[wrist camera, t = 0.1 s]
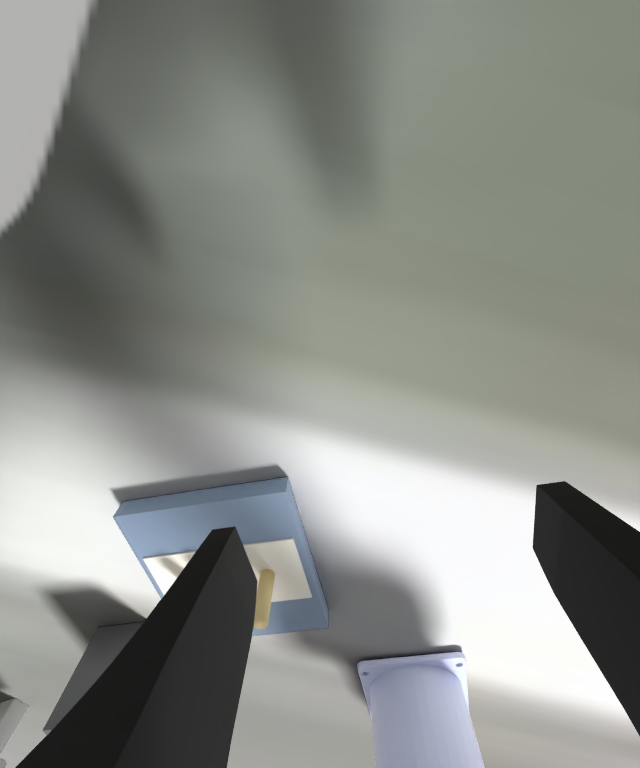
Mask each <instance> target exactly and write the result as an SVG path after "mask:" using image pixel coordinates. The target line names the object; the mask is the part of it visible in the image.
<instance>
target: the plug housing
mask: <svg viewBox="0 0 640 768" xmlns="http://www.w3.org/2000/svg"><path fill="white" fill-rule="evenodd" d="M143 623H144V622H139V623H130V624H121V625H112V626H104V627H98V628H97V630H96V632H95V634H94V636H93V638H92V639H91V641H90V643H89V645H88V647H87V649H86V651H85V653H84V654H83V656H82V658H81V660H80V662H79V664H78V666H77V667H76V669H75V671H74V673H73V675H72V677H71V679H70V680H69V682H68V684H67V686H66V688H65V690H64V692H63V693H62V695H61V697H60V699H59V701H58V703H57V705H56V707H55V708H54V710H53V712H52V714H51V716H50V718H49V720H48V721H47V723H46V725H45V727H44V729H43V731H44V732H45V733H46V734H47V735H48V734H49V733H50V732H51V731H52V729H53V728H54V727H55V726H56V725H57V724H58V723H59V722H60V721H61V720H62V719H63V718H64V716H65V715H66V714H67V713H68V712H69V711H70V710H71V709H72V708H73V706H74V705H75V704H76V703H77V702H78V701H79V700H80V699H81V698H82V696H83V695H84V694H85V693H86V692H87V691H88V690H89V689H90V687H91V686H92V685H93V684H94V683H95V682H96V681H97V679H98V678H99V677H100V676H101V675H102V673H103V672H104V671H105V670H106V669H107V668H108V666H109V665H110V664H111V663H112V662H113V660H114V659H115V658H116V657H117V655H118V654H119V653H120V652H121V650H122V649H123V648H124V647H125V645H126V644H127V643H128V642H129V640H130V639H131V638H132V637H133V635H134V634H135V633H136V632H137V630H138V629H139V628H140V627H141V625H142V624H143Z"/></svg>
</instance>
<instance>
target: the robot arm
mask: <svg viewBox="0 0 640 768" xmlns="http://www.w3.org/2000/svg"><path fill="white" fill-rule="evenodd" d="M533 549H534V552H535V554H536V556H537V558H538V560H539V562H540V565H541V567H542V569H543V571H544V573H545V575H546V578H547V580H548V582H549V584H550V586H551V588H552V590H553V592H554V594H555V596H556V597H557V599H558V601H559V602H560V604H561V606H562V607H563V609H564V611H565V612H566V614H567V616H568V617H569V619H570V621H571V622H572V624H573V626H574V627H575V629H576V631H577V632H578V634H579V636H580V637H581V639H582V641H583V642H584V644H585V645H586V647H587V649H588V650H589V652H590V654H591V655H592V657H593V659H594V660H595V662H596V663H597V665H598V667H599V668H600V670H601V672H602V673H603V675H604V677H605V678H606V680H607V681H608V683H609V685H610V686H611V688H612V690H613V691H614V693H615V695H616V696H617V698H618V699H619V701H620V703H621V704H622V706H623V708H624V709H625V711H626V713H627V715H628V716H629V718H630V720H631V722H632V723H633V725H634V727H635V729H636V730H637V732H638V734H639V736H640V532H639V531H637V530H636V529H634V528H633V527H631V526H630V525H628V524H627V523H626V522H624V521H623V520H621V519H620V518H618V517H617V516H615V515H614V514H612V513H611V512H609V511H608V510H606V509H605V508H603V507H602V506H600V505H599V504H598V503H596V502H595V501H593V500H592V499H590V498H589V497H587V496H586V495H584V494H583V493H581V492H580V491H578V490H577V489H576V488H574V487H573V486H571V485H570V484H568V483H567V482H565V481H563V482H556V483H549V484H541V485H537V489H536V505H535V521H534V537H533ZM257 582H258V581H257V578H256V576H255V573H254V571H253V569H252V566H251V564H250V561H249V559H248V556H247V554H246V551H245V549H244V546H243V544H242V541H241V539H240V537H239V534H238V532H237V529H236V527H235V526H234V527H227V528H220V529H212V530H211V532H210V533H209V535H208V536H207V537H206V539H205V540H204V541H203V543H202V544H201V545H200V547H199V548H198V549H197V551H196V552H195V554H194V555H193V556H192V558H191V559H190V561H189V562H188V563H187V565H186V566H185V568H184V569H183V570H182V572H181V573H180V574H179V576H178V577H177V579H176V580H175V581H174V583H173V584H172V585H171V587H170V588H169V590H168V591H167V592H166V594H165V595H164V596H163V598H162V599H161V600H160V602H159V603H158V604H157V606H156V607H155V608H154V610H153V611H152V612H151V614H150V615H149V616H148V618H147V619H146V620H145V621H144V623H143V624H142V625H141V627H140V628H139V629H138V630H137V632H136V633H135V634H134V635H133V637H132V638H131V639H130V640H129V642H128V643H127V644H126V645H125V647H124V648H123V649H122V650H121V652H120V653H119V654H118V655H117V657H116V658H115V659H114V660H113V662H112V663H111V664H110V665H109V666H108V668H107V669H106V670H105V671H104V672H103V673H102V675H101V676H100V677H99V678H98V679H97V681H96V682H95V683H94V684H93V685H92V686H91V687H90V689H89V690H88V691H87V692H86V693H85V694H84V695H83V696H82V698H81V699H80V700H79V701H78V702H77V703H76V704H75V705H74V706H73V708H72V709H71V710H70V711H69V712H68V713H67V714H66V715H65V716H64V718H63V719H62V720H61V721H60V722H59V723H58V724H57V725H56V726H55V727H54V728H53V729H52V731H51V732H50V733H49V734H48V735H47V736H46V737H45V738H44V739H43V740H42V741H41V742H40V743H39V744H38V745H37V746H36V747H35V748H34V749H33V750H32V751H31V752H30V753H29V754H28V755H27V756H26V757H25V758H24V760H22V761H21V762H20V763H19V764H18V766H16V768H227V762H228V756H229V750H230V744H231V738H232V733H233V728H234V723H235V718H236V713H237V708H238V703H239V698H240V693H241V688H242V684H243V679H244V674H245V669H246V664H247V658H248V653H249V648H250V643H251V638H252V632H253V627H254V618H255V608H256V595H257ZM357 666H358V673H359V676H360V680H361V683H362V687H363V690H364V694H365V698H366V701H367V705H368V708H369V712H370V715H371V719H372V729H373V741H374V752H375V764H376V768H485V767H484V763H483V760H482V756H481V753H480V749H479V745H478V742H477V738H476V734H475V731H474V727H473V724H472V720H471V716H470V713H469V706H468V689H467V672H466V659H465V656H464V654H463V653H462V652H450V653H440V654H430V655H419V656H409V657H398V658H388V659H377V660H367V661H361V662H359V663H358V665H357Z"/></svg>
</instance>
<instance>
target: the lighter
mask: <svg viewBox="0 0 640 768" xmlns="http://www.w3.org/2000/svg"><path fill="white" fill-rule="evenodd" d="M28 709H29V706H28V705H26V704H24V703H23V702H21V701H19V700H18V699H15V698H12V699H10V700H7V701H4V702H1V703H0V756H1V755H2V753H3V751H4V749H5V748H6V746H7V744H8V743H9V741H10V739H11V737H12V736H13V734H14V732H15V731H16V729H17V727H18V726H19V724H20V722H21V720H22V719H23V717H24V715H25V714H26V712H27V710H28ZM5 766H6V761H5V760H4V759H2V758H0V768H5Z"/></svg>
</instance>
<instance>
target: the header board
mask: <svg viewBox="0 0 640 768" xmlns="http://www.w3.org/2000/svg"><path fill="white" fill-rule="evenodd" d="M113 518H114V520H115V521H116V523H117V525H118V526H119V528H120V530H121V532H122V533H123V535H124V537H125V538H126V540H127V542H128V543H129V545H130V547H131V548H132V550H133V552H134V554H135V555H136V557H137V559H138V560H139V562H140V564H141V565H142V567H143V569H144V570H145V572H146V574H147V575H148V577H149V579H150V581H151V582H152V584H153V586H154V587H155V589H156V591H157V592H158V594H159V596H160V597H161V599H162V598H163V596H164V595H165V594H166V592H167V591H168V590H169V588H170V587H171V585H172V584H173V583H174V581H175V580H176V579H177V577H178V576H179V574H180V573H181V572H182V570H183V569H184V568H185V566H186V565H187V563H188V562H189V561H190V559H191V558H192V556H193V555H194V554H195V552H196V551H197V549H198V548H199V547H200V545H201V544H202V543H203V541H204V540H205V539H206V537H207V536H208V535H209V533H210V532H211V530H212V529H220V528H227V527H234V526H235V527H236V529H237V532H238V534H239V537H240V539H241V541H242V544H243V546H244V549H245V551H246V554H247V556H248V559H249V561H250V564H251V566H252V569H253V571H254V573H255V576H256V578H257V581H258V582H257V595H256V608H255V618H254V627H253V632H252V636H258V635H267V634H277V633H286V632H296V631H305V630H314V629H324V628H328V607H327V604H326V601H325V597H324V594H323V591H322V587H321V584H320V581H319V578H318V574H317V571H316V568H315V564H314V561H313V558H312V554H311V551H310V548H309V545H308V541H307V538H306V535H305V531H304V528H303V525H302V521H301V518H300V515H299V511H298V508H297V505H296V502H295V498H294V495H293V492H292V488H291V485H290V482H289V478H288V477H284V478H277V479H270V480H264V481H257V482H250V483H243V484H237V485H230V486H223V487H217V488H210V489H203V490H197V491H190V492H183V493H177V494H170V495H163V496H157V497H150V498H143V499H137V500H130V501H123V503H122V504H121V506H120V507H119V509H118V510H117V511H116V513H115V514H114V516H113Z"/></svg>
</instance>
